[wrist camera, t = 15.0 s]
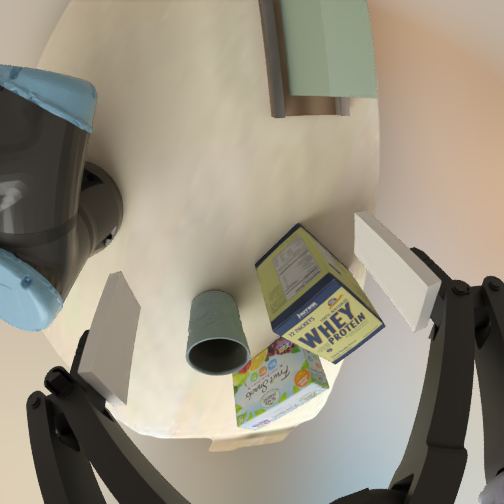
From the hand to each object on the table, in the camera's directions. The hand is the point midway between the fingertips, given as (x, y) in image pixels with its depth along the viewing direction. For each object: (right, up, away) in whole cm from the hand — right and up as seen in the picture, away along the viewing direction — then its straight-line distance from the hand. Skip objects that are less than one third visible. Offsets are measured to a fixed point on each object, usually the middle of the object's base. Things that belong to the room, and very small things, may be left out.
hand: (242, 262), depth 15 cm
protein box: (+10, -2, +35) cm, 36 cm away
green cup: (-6, -10, +37) cm, 39 cm away
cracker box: (+7, +29, +14) cm, 33 cm away
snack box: (+4, -23, +47) cm, 52 cm away
